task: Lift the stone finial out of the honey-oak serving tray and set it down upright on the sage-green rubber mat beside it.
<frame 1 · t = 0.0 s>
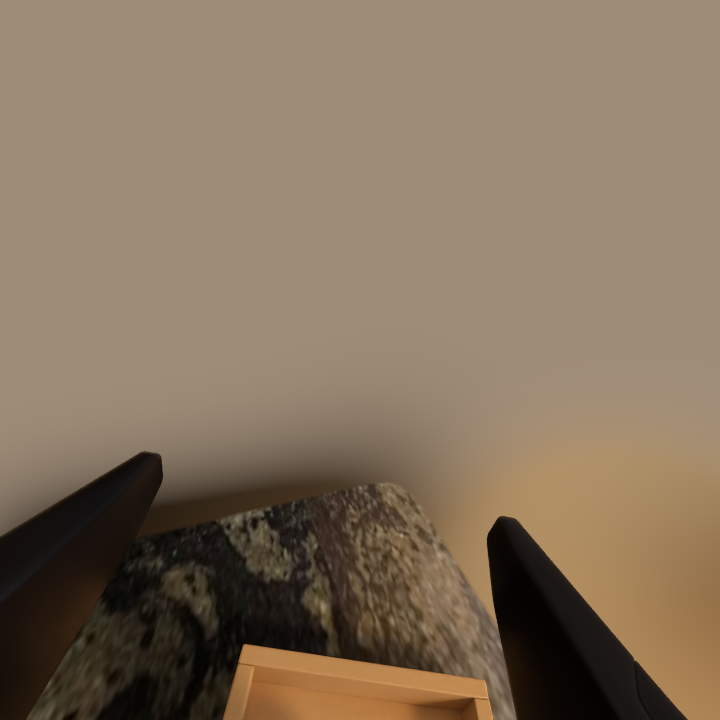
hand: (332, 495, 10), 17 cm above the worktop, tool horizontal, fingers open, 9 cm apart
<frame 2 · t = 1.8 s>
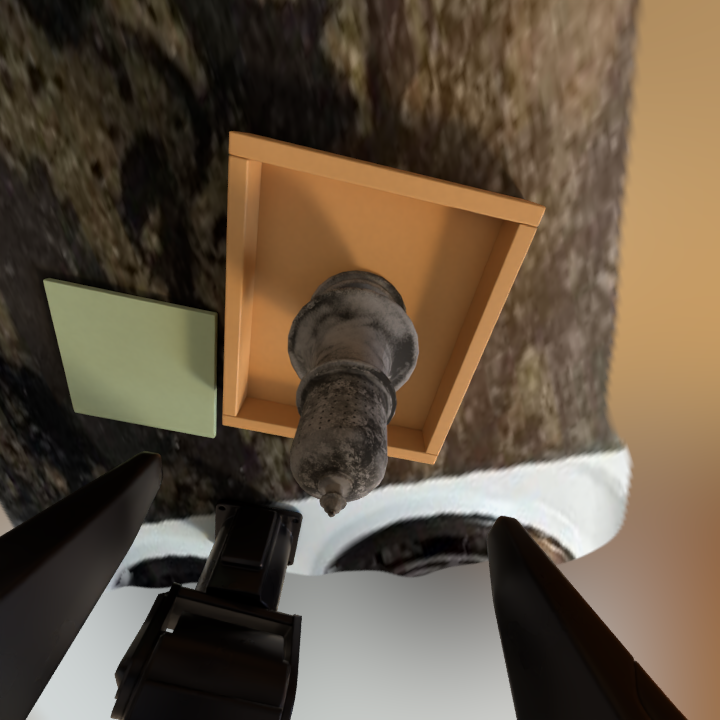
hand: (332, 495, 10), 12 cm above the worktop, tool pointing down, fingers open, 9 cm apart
tray: (357, 316, 20), on the worktop
mat: (142, 364, 22), on the worktop
stone finial: (357, 317, 20), resting on tray
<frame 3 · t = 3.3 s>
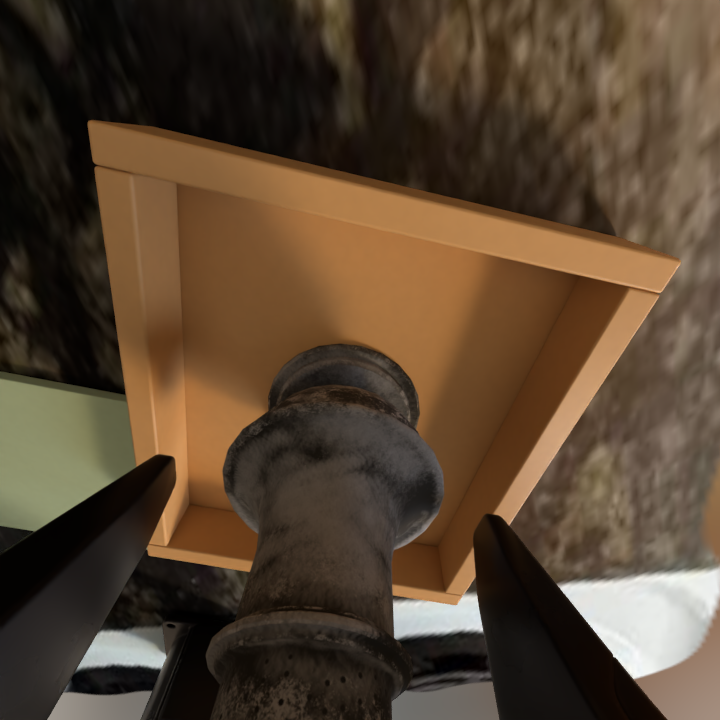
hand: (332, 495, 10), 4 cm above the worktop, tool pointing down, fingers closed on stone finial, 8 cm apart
tray: (344, 403, 13), on the worktop
mat: (38, 461, 15), on the worktop
stone finial: (344, 407, 13), resting on tray, touching gripper
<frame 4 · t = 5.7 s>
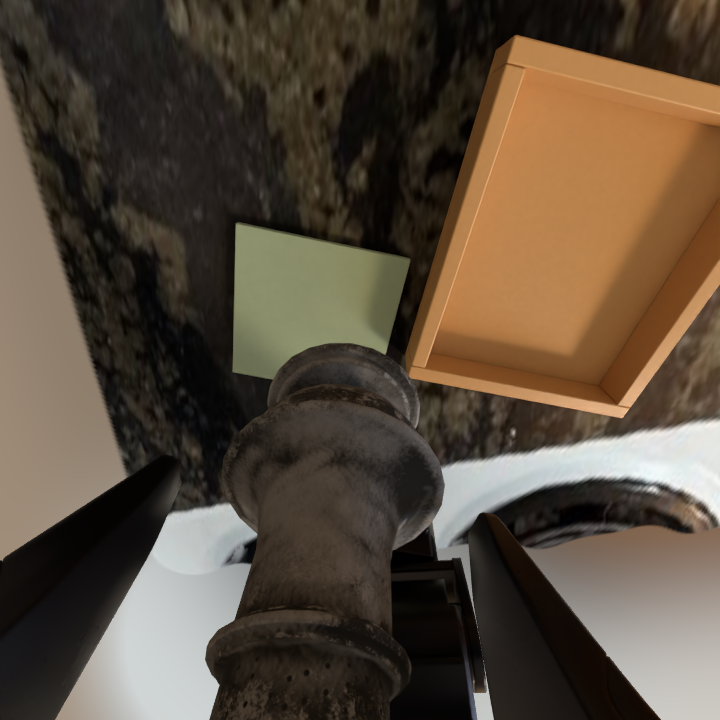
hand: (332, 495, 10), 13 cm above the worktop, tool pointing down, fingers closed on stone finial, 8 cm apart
tray: (559, 258, 19), on the worktop
mat: (314, 318, 21), on the worktop
stone finial: (344, 406, 13), point 9 cm above the worktop, touching gripper
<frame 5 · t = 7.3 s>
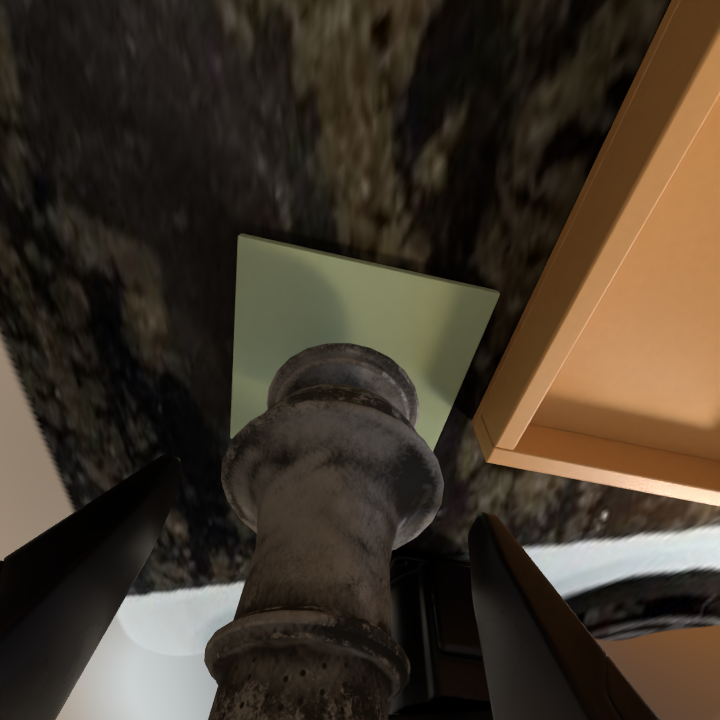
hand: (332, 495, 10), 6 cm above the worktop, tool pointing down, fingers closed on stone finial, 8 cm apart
mat: (347, 370, 15), on the worktop
stone finial: (343, 406, 13), point 2 cm above the worktop, touching gripper
when the fingers open (4 cm above the worktop, at t = 8.6 s): stone finial stays where it is, resting on mat.
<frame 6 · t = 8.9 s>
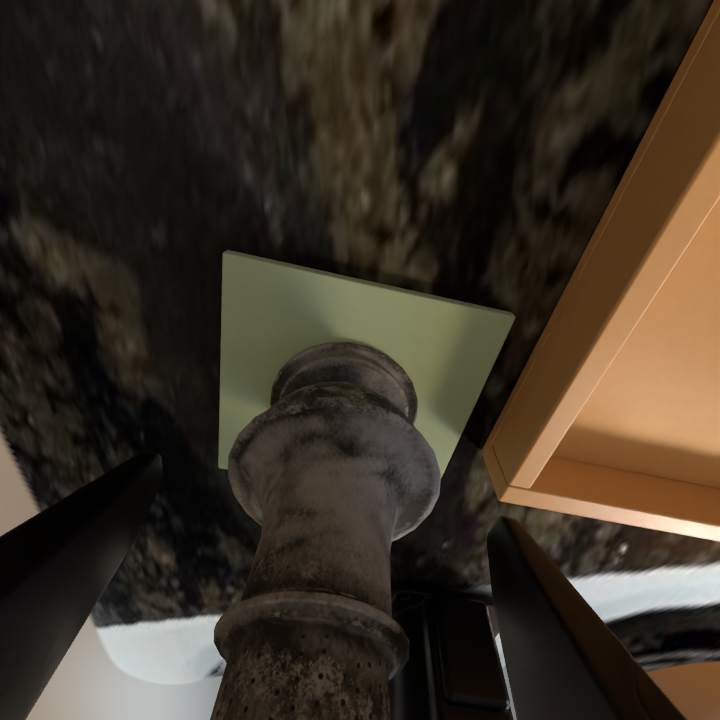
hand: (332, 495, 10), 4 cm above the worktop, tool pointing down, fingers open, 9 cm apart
mat: (345, 397, 13), on the worktop
stone finial: (344, 403, 13), resting on mat
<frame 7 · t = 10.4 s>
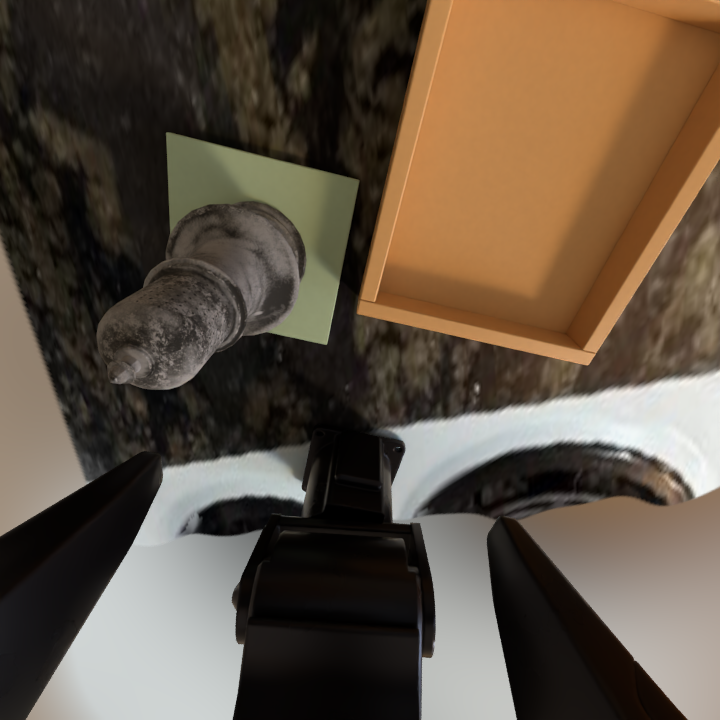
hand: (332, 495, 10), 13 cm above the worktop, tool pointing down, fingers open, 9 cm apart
tray: (521, 184, 17), on the worktop
mat: (259, 251, 19), on the worktop
stone finial: (257, 254, 19), resting on mat
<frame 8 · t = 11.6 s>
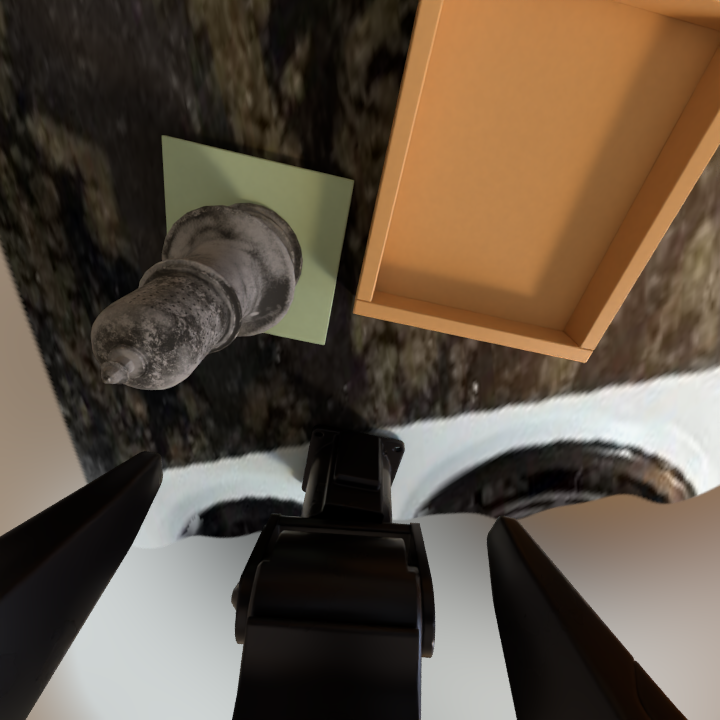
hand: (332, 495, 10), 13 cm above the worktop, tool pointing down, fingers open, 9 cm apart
tray: (515, 182, 17), on the worktop
mat: (255, 252, 19), on the worktop
stone finial: (254, 255, 19), resting on mat
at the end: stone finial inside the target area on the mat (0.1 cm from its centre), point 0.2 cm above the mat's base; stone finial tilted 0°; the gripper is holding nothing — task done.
